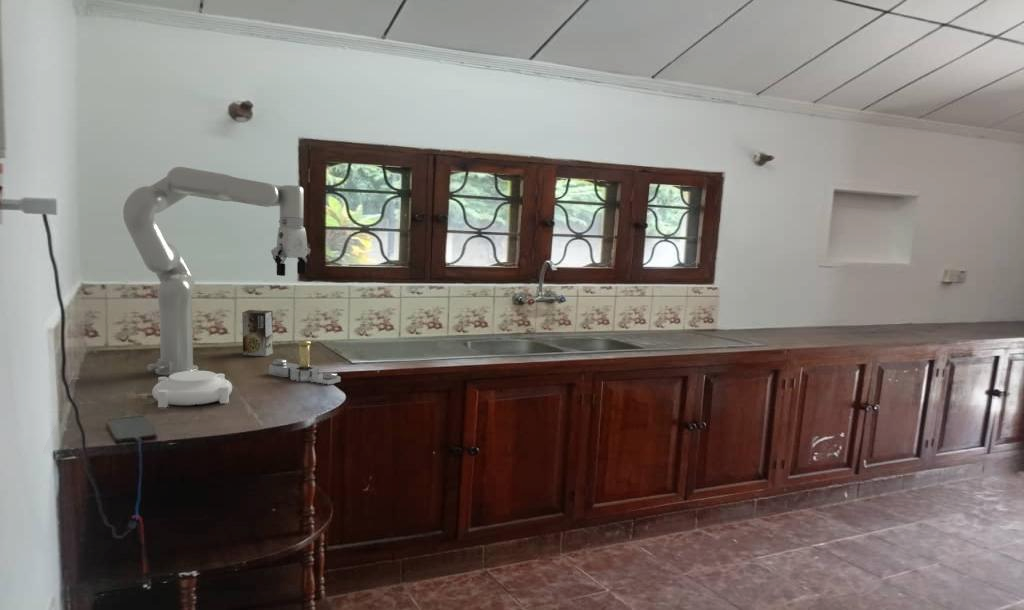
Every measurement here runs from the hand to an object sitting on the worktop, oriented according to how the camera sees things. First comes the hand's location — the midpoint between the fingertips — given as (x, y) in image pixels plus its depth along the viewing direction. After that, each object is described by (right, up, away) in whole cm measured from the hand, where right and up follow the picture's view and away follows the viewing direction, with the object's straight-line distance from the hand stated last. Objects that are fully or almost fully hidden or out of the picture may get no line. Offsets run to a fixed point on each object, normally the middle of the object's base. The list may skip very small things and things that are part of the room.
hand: (291, 274), depth 236 cm
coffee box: (-20, -29, +25) cm, 43 cm away
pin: (+6, -34, -7) cm, 35 cm away
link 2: (+10, -34, -9) cm, 37 cm away
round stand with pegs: (-17, -37, -36) cm, 54 cm away
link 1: (+3, -33, -5) cm, 34 cm away
